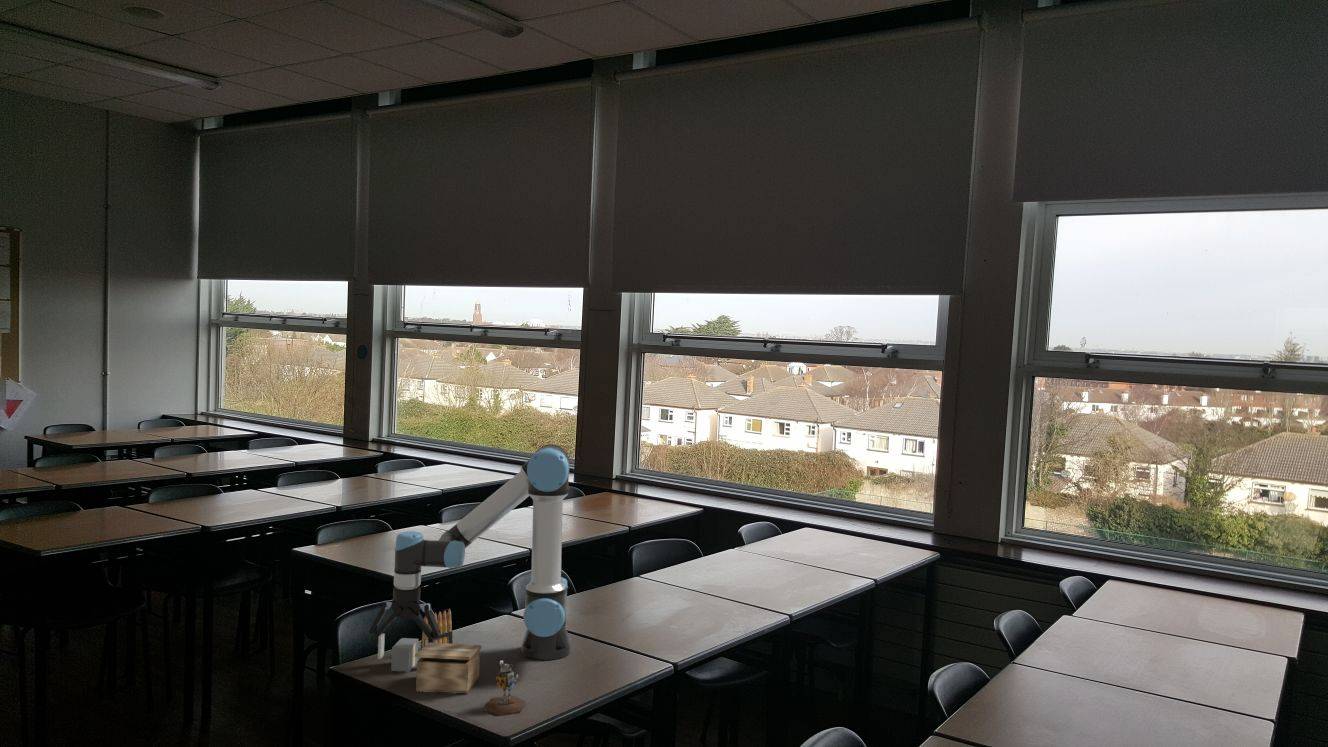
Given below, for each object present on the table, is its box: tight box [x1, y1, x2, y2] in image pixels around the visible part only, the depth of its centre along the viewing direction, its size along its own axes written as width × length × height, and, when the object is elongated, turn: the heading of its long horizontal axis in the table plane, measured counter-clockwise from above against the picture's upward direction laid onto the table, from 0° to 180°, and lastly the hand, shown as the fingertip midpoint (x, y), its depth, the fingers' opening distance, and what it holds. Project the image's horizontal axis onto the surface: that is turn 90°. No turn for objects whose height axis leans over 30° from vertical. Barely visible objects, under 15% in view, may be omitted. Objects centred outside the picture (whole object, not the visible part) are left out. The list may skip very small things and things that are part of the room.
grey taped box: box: [390, 637, 419, 673], centre depth 246 cm, size 5×8×7 cm, turn 178°
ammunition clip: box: [420, 608, 453, 650], centre depth 260 cm, size 11×2×12 cm, turn 143°
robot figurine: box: [484, 660, 527, 717], centre depth 221 cm, size 11×9×12 cm
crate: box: [415, 649, 481, 694], centre depth 235 cm, size 14×12×8 cm
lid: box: [415, 643, 482, 660], centre depth 234 cm, size 15×13×1 cm
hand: (403, 659), depth 246 cm, fingers open, 13 cm apart
